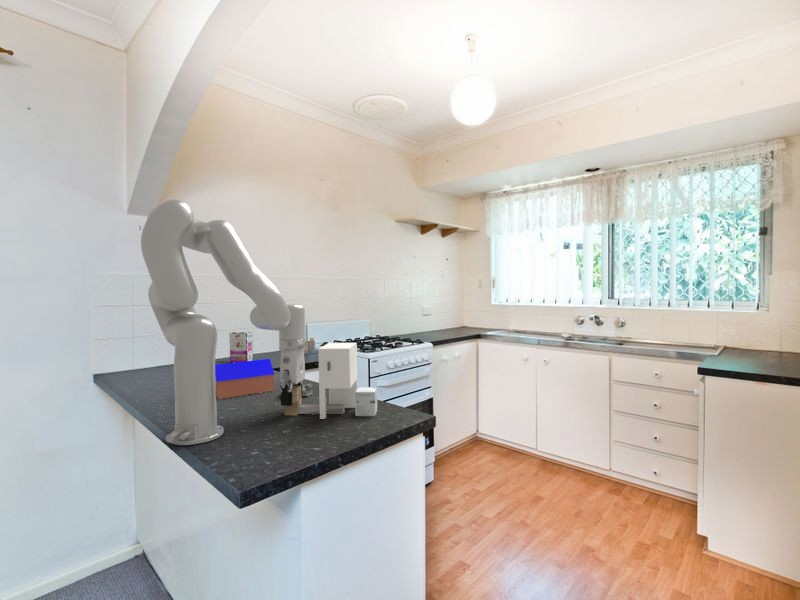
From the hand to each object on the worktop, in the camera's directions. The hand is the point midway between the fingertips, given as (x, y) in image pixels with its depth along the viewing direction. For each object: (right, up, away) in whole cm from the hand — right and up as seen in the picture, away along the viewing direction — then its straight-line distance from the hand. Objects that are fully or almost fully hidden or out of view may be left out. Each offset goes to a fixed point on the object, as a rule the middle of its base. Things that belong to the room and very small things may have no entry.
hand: (292, 401), depth 122 cm
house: (-26, -4, +28) cm, 38 cm away
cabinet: (+15, -4, 0) cm, 15 cm away
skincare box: (+23, -4, -1) cm, 23 cm away
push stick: (+7, -4, 0) cm, 8 cm away
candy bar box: (-52, -3, +94) cm, 107 cm away
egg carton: (-4, -4, +21) cm, 22 cm away
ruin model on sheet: (-25, -2, +121) cm, 124 cm away
